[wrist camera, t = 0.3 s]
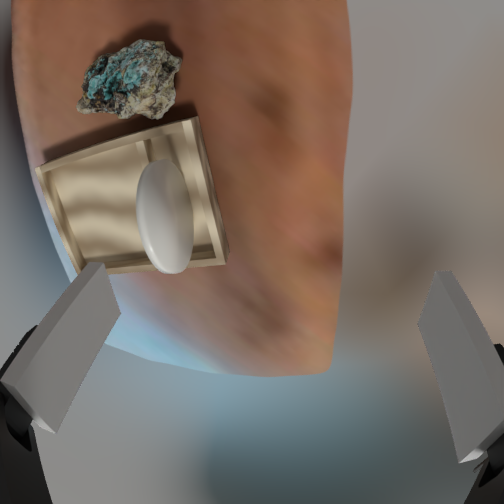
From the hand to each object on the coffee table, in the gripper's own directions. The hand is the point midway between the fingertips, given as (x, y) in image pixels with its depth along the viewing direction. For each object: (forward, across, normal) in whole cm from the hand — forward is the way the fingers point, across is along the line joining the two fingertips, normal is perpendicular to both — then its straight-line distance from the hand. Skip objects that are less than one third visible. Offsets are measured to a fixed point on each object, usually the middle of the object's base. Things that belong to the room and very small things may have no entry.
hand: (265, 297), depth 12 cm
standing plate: (+27, -12, -6) cm, 30 cm away
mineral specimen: (+27, -17, +9) cm, 33 cm away
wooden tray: (+27, -20, -7) cm, 34 cm away
